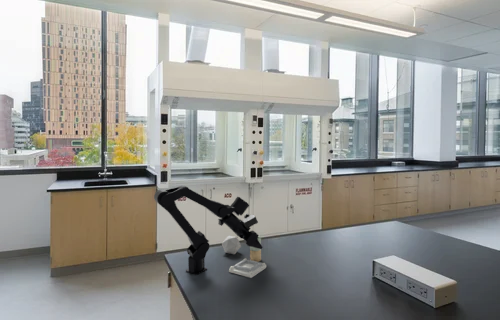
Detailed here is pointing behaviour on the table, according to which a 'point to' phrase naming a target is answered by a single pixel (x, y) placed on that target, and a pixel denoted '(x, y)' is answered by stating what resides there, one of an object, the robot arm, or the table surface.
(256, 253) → the tan and green cylinder
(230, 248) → the die
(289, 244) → the table surface
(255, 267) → the baseplate
